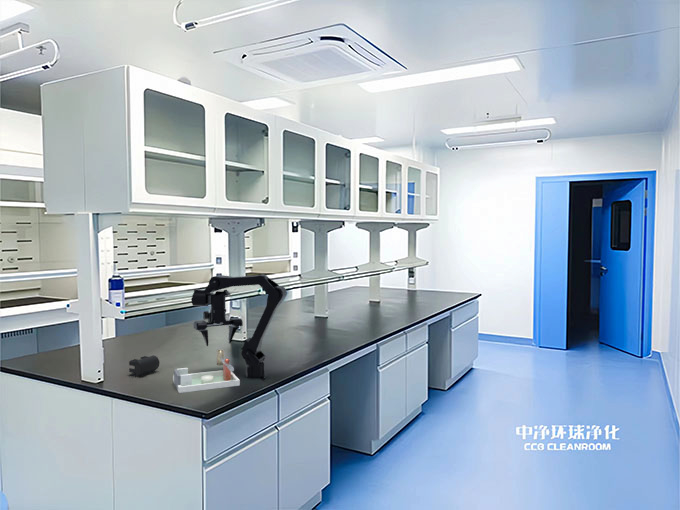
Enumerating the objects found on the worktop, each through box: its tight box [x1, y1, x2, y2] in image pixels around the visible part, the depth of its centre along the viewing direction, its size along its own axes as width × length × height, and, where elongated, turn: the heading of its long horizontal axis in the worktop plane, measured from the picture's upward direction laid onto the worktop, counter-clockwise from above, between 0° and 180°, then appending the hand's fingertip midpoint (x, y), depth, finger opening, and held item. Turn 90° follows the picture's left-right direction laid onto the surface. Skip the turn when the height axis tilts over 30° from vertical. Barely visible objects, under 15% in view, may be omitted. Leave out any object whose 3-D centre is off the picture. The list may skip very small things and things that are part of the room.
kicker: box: [216, 348, 235, 381], centre depth 191 cm, size 3×22×9 cm, turn 26°
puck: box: [201, 375, 213, 384], centre depth 186 cm, size 4×4×2 cm
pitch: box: [172, 367, 241, 394], centre depth 186 cm, size 22×16×6 cm
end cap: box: [128, 355, 160, 378], centre depth 200 cm, size 10×7×7 cm
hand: (218, 344), depth 198 cm, fingers open, 9 cm apart
